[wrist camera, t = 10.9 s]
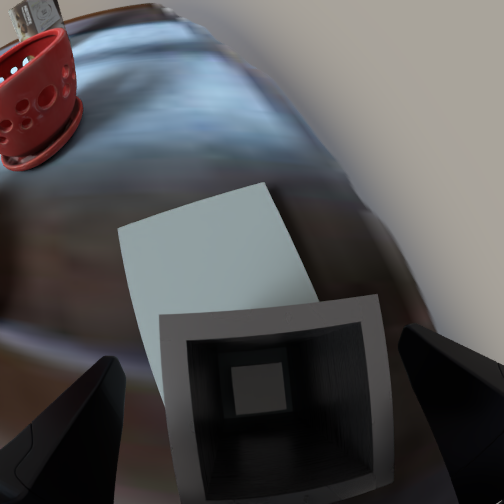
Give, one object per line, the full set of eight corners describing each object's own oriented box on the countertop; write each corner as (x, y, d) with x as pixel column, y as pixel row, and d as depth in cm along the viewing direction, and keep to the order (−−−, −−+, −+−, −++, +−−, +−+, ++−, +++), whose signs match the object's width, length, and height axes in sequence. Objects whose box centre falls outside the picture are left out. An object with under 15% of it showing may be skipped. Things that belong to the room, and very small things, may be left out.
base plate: (349, 394, 16) (380, 401, 12) (192, 453, 14) (179, 479, 10) (262, 193, 21) (267, 155, 17) (124, 237, 20) (101, 206, 15)
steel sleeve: (303, 418, 14) (393, 482, 4) (214, 428, 14) (184, 517, 4) (294, 335, 16) (377, 293, 6) (206, 343, 16) (158, 314, 6)
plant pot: (16, 205, 20) (-51, 131, 9) (3, 147, 23) (-38, 88, 12) (112, 126, 24) (77, 29, 13) (78, 88, 27) (52, 19, 16)
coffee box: (72, 45, 34) (54, -17, 19) (49, 63, 32) (26, -1, 17) (50, 48, 35) (32, -6, 20) (29, 65, 33) (7, 10, 18)
